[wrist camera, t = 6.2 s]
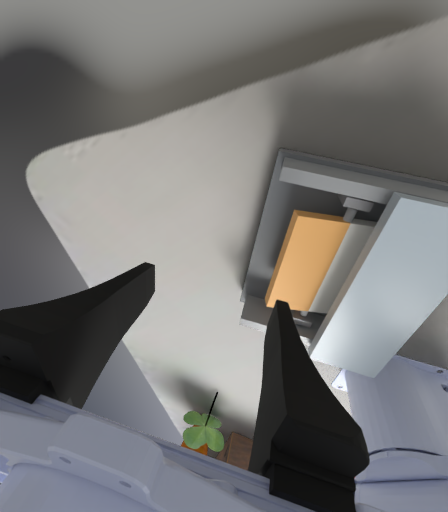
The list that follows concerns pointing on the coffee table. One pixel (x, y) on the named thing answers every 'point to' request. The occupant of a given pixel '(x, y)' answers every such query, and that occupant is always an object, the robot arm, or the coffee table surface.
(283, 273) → the rocker
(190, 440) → the seedling
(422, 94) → the coffee table surface
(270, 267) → the box
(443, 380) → the robot arm
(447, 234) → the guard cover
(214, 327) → the coffee table surface
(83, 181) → the coffee table surface
